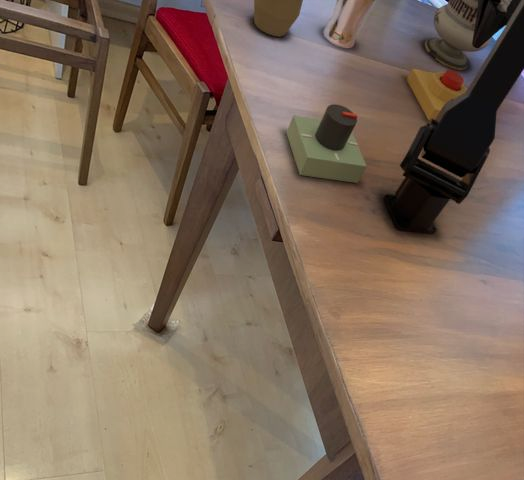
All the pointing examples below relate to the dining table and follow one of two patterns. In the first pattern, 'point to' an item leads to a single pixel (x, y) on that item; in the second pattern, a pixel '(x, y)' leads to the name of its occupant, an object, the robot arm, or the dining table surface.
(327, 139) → the knob
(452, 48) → the apothecary jar
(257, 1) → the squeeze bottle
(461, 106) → the robot arm
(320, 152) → the panel
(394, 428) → the dining table surface
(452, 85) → the button
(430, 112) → the button block
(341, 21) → the beer glass
